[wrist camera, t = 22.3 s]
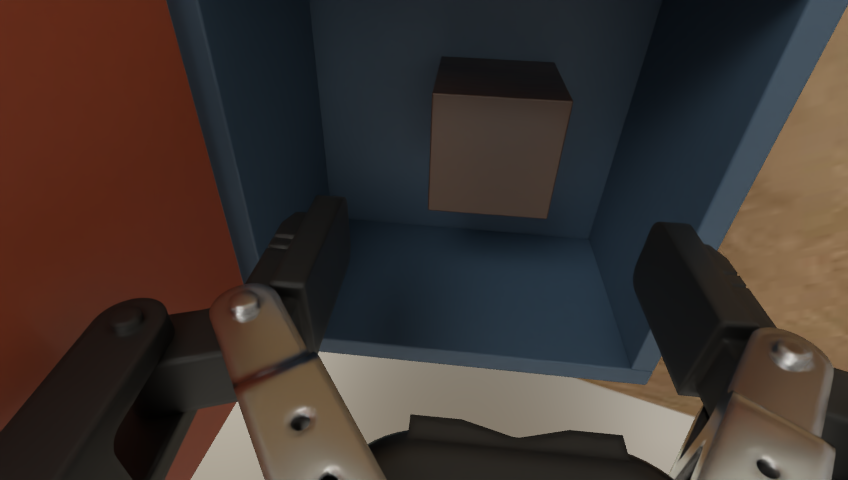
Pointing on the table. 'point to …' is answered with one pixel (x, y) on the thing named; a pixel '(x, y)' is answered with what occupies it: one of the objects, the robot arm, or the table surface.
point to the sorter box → (478, 233)
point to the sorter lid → (100, 187)
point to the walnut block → (496, 136)
